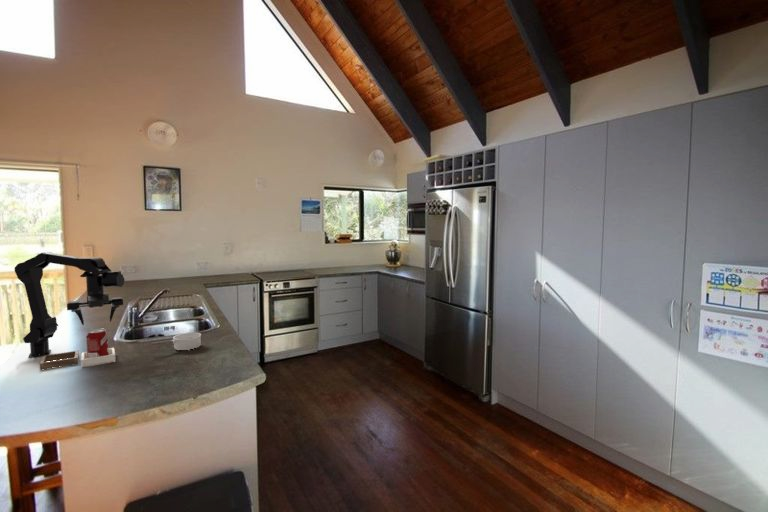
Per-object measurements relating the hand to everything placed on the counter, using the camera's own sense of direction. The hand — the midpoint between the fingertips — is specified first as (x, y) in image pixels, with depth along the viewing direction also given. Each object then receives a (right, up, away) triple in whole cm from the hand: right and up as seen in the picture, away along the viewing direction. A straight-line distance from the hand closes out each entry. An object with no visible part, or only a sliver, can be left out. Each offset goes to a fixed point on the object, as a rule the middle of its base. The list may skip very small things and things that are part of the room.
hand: (97, 323), depth 157 cm
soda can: (+7, -13, -8) cm, 17 cm away
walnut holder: (-6, -14, -11) cm, 19 cm away
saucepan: (+32, -13, +6) cm, 35 cm away
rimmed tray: (+7, -14, -8) cm, 18 cm away
